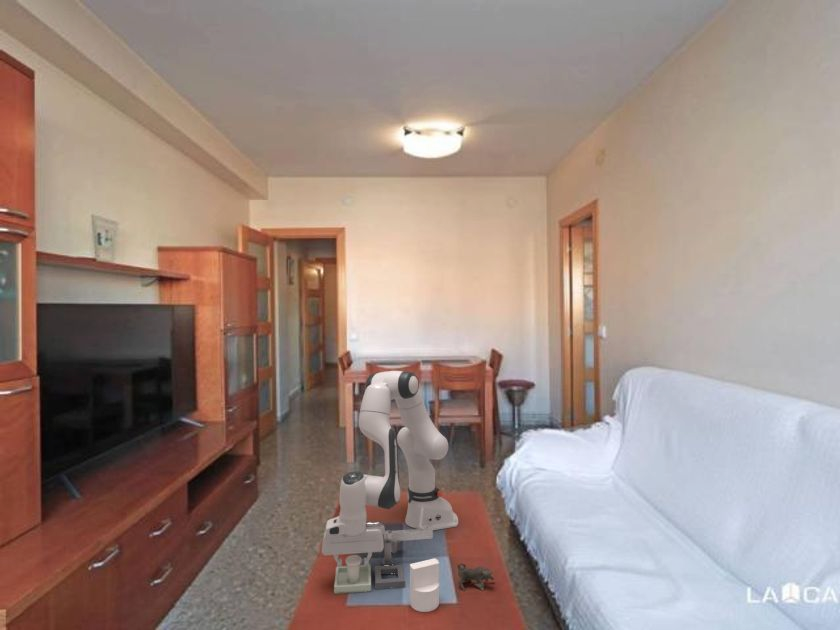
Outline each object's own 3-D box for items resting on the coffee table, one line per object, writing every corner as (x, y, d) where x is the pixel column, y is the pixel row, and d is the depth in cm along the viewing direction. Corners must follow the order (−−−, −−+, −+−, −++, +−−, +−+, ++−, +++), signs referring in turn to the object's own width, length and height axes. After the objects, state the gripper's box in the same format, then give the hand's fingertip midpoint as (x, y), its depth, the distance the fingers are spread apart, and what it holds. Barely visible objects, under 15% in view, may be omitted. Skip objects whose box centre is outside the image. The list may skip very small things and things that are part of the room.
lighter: (385, 552, 170) (385, 531, 170) (386, 550, 172) (386, 528, 171) (404, 553, 169) (404, 532, 169) (404, 551, 171) (404, 530, 170)
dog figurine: (457, 591, 147) (457, 568, 147) (457, 580, 153) (457, 558, 153) (495, 592, 146) (495, 569, 146) (493, 581, 152) (493, 559, 152)
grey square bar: (384, 542, 161) (384, 534, 161) (383, 538, 164) (383, 530, 164) (433, 539, 164) (433, 531, 164) (431, 535, 166) (431, 527, 166)
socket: (400, 559, 165) (401, 538, 165) (405, 587, 149) (405, 563, 149) (374, 561, 164) (374, 539, 164) (375, 589, 148) (375, 565, 148)
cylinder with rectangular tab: (416, 615, 135) (416, 574, 135) (405, 597, 144) (405, 559, 143) (444, 607, 139) (444, 568, 139) (431, 590, 147) (431, 553, 147)
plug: (361, 575, 154) (361, 554, 154) (361, 584, 149) (361, 563, 149) (345, 576, 154) (345, 555, 154) (344, 585, 149) (345, 564, 148)
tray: (370, 570, 158) (370, 564, 158) (371, 591, 146) (371, 584, 146) (336, 573, 157) (336, 566, 157) (334, 594, 145) (334, 587, 145)
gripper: (384, 517, 156) (384, 557, 156) (322, 520, 153) (322, 562, 153) (385, 526, 149) (385, 568, 150) (321, 530, 147) (321, 572, 147)
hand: (353, 565), depth 151 cm, fingers open, 7 cm apart
